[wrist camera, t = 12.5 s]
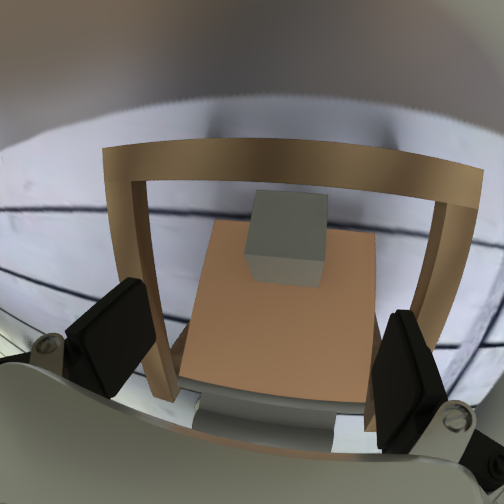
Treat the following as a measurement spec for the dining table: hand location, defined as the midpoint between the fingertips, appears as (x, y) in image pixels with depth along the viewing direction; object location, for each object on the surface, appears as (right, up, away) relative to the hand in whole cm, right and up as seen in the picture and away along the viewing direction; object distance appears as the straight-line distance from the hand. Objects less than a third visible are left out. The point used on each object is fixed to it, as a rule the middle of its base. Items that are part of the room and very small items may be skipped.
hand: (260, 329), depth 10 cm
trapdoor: (+2, -4, +12) cm, 12 cm away
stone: (+3, +3, +13) cm, 13 cm away
